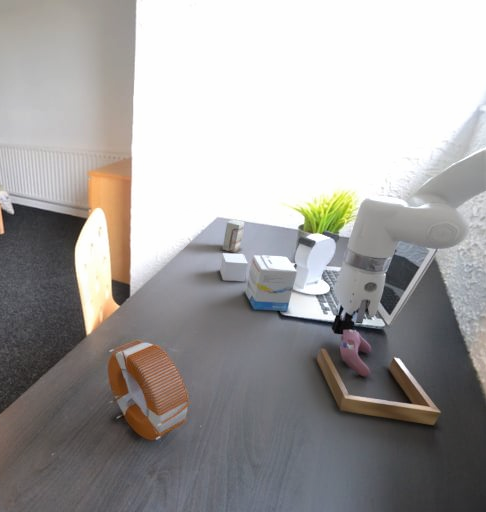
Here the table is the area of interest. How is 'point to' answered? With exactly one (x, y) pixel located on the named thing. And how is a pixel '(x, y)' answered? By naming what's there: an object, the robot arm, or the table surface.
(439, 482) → the table surface
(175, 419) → the coil
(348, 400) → the bay
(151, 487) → the table surface
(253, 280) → the ink box
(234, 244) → the cosmetics bottle
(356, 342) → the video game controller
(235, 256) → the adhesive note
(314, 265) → the white curved upright piece
